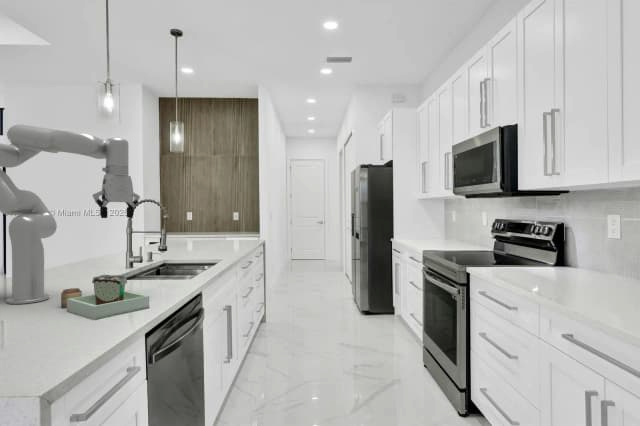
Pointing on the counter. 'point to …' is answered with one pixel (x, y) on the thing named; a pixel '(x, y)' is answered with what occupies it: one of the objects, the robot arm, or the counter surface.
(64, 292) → the salt cellar
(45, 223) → the robot arm
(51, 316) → the counter surface
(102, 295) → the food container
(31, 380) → the counter surface
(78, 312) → the bin
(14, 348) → the counter surface
